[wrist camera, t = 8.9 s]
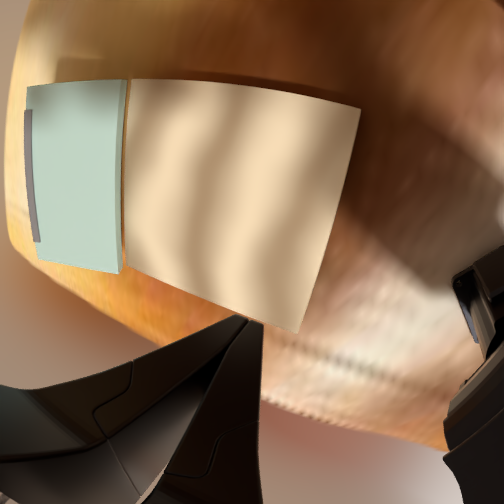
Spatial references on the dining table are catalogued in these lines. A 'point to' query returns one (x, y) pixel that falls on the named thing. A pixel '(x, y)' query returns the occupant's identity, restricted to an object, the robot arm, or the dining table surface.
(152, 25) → the dining table surface
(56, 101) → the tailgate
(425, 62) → the dining table surface
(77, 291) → the dining table surface
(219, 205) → the beige flat square pad
